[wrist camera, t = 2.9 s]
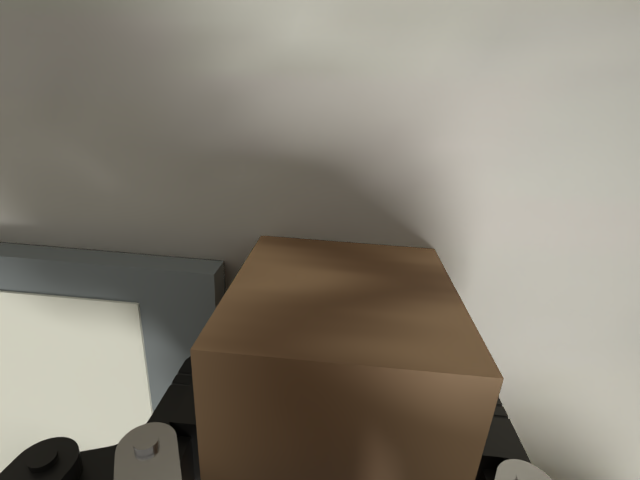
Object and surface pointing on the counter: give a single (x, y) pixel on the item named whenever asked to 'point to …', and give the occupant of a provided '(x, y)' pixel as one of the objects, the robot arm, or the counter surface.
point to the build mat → (93, 339)
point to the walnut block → (341, 368)
